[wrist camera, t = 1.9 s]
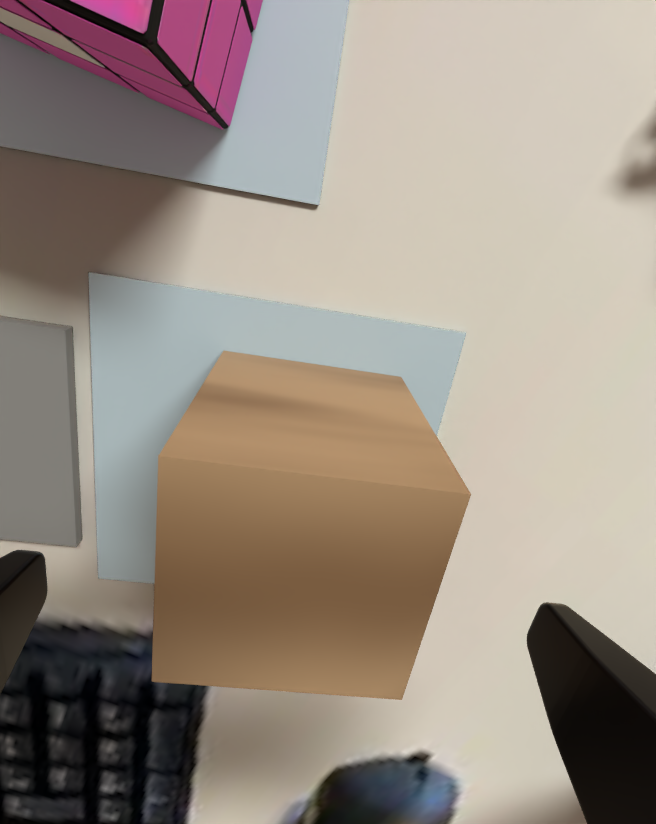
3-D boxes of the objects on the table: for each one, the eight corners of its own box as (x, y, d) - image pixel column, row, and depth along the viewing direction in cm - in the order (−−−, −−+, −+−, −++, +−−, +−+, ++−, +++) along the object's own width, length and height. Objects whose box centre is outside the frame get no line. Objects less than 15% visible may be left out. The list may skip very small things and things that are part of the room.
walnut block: (366, 521, 15) (401, 700, 9) (210, 503, 14) (151, 681, 9) (401, 376, 13) (470, 494, 8) (223, 350, 13) (157, 455, 7)
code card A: (387, 603, 17) (388, 606, 16) (99, 576, 15) (97, 579, 15) (465, 332, 13) (466, 333, 13) (90, 272, 12) (87, 272, 12)
